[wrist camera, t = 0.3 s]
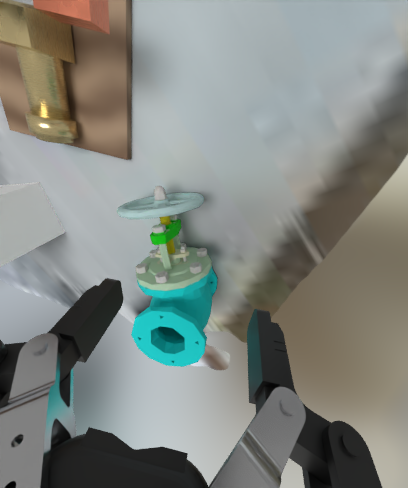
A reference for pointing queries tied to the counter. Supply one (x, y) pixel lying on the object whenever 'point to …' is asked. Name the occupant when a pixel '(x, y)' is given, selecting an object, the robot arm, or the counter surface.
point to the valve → (172, 283)
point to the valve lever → (72, 12)
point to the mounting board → (85, 85)
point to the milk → (25, 220)
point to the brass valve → (41, 69)
